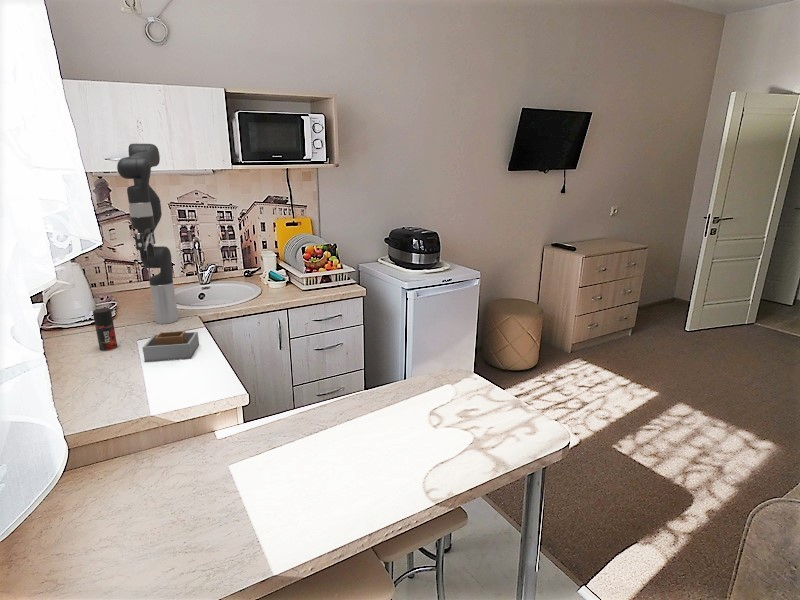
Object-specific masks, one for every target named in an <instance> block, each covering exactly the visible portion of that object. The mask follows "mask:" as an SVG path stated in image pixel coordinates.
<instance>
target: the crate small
mask: <svg viewBox="0 0 800 600" xmlns="http://www.w3.org/2000/svg"><path fill="white" fill-rule="evenodd" d="M186 332H187V331H186V330H181V331H180V330H179V331H165V332H159V333H158V335H157V336H156V337H155V343H156V346H159V345H173V344H187V339H186Z"/></svg>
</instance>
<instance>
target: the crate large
mask: <svg viewBox="0 0 800 600" xmlns="http://www.w3.org/2000/svg"><path fill="white" fill-rule="evenodd" d="M185 332H186V339H187V344H173V345H159V346H156V343H155V337H156V336H157V335H158V334H159V333H158V334H153V335H152V337H150V338H149V340H147V342H146V343H144V345H143V346H142V353H143V358H144V363H151V362H160V361H161V362H163V361H164V362H165V361H177V360H189V359H190V360H191V359H192V358H193V357H194V355H195V353H196V351H197V350H198V348H199V347H200V339H199V332H198V331H188V332H187V331H185Z"/></svg>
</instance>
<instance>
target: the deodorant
mask: <svg viewBox="0 0 800 600" xmlns="http://www.w3.org/2000/svg"><path fill="white" fill-rule="evenodd" d="M92 315H93V320H94V321H93V322H94V327H95V331H96V336H97V337H96V338H97V342H98V347H99V350H100V351H102V352H103V351H104V352H107V351H108V352H109V351H112V350H115V349H117V348H118V343H117V337H116V330H115V325H114V319H113V314H112V309H111V308H110V307H102V308H96V309H94V310H93V311H92Z"/></svg>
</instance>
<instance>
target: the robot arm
mask: <svg viewBox="0 0 800 600" xmlns="http://www.w3.org/2000/svg"><path fill="white" fill-rule="evenodd" d="M127 151H128V156H126V157H122V158H120V159H119V160H118V162H117V165H116V170H117V173H118V175H119V176H120V177H121V178H123V179H126V180H132V179H133V185H130V186H128V187H127V189H126V193H127V199H128V209H129V217H130V218H129V219H130V225H131V228H132V229H134V230H137V233H134V240H135V248H136V251H138V252H139V254H140V261H141V262H142V265H143V266H144V268H147V269H160V271H159V273H158V274H155V275H153V276H150V277H149V279H148V280H149V287H150V294H151V301H152V308H153V312H154V322H155V323H156V324H159V325H160V324H161V325H167V324H172V323H175V322H177V321H179V315H178V308H177V307H178V305H177V300H176V293H175V292H176V291H175V285H174V279H173V278H174V277H173V276H174V273H173V272H174V271H173V260H172V254H171V250H170V248H168V246H163V245H162V246H158V245H157V246H155V245H156V238H155V232H154V231H155V230H156V228H157V226H158V225H159V223H160V221H161V219H162V206H161V205H162V204H161V199H160V197H159V195H158V194H157V193H156V191H155V190H154V189H153V188H152V187H151V185H150V178H151V172H152V168H153V167H154V168H155V167H157V166H158V165H159V164H160V160H161V159H160V158H161V157H160V156H161V155H160V152H159V148H158V147H157V145H156V144H153V143H130V144H129V145H128V150H127Z"/></svg>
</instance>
